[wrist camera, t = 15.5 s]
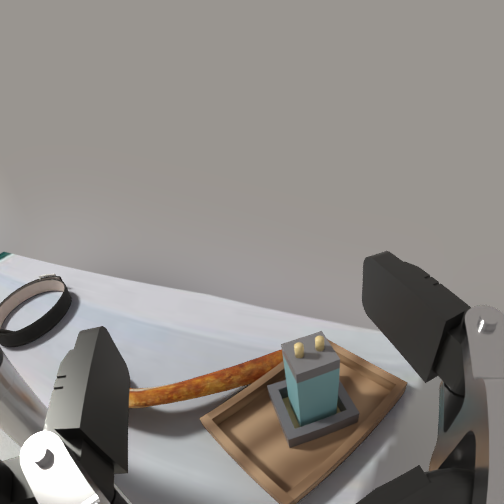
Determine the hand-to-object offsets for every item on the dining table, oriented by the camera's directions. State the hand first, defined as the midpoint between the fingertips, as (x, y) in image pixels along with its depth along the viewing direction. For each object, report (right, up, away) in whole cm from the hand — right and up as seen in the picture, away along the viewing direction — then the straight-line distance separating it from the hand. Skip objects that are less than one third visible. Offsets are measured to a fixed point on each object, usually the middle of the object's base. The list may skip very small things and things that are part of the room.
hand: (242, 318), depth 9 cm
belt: (-63, -16, +62) cm, 90 cm away
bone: (-10, -21, +35) cm, 42 cm away
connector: (+8, -19, +29) cm, 36 cm away
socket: (+8, -20, +29) cm, 36 cm away
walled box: (+8, -20, +28) cm, 36 cm away
